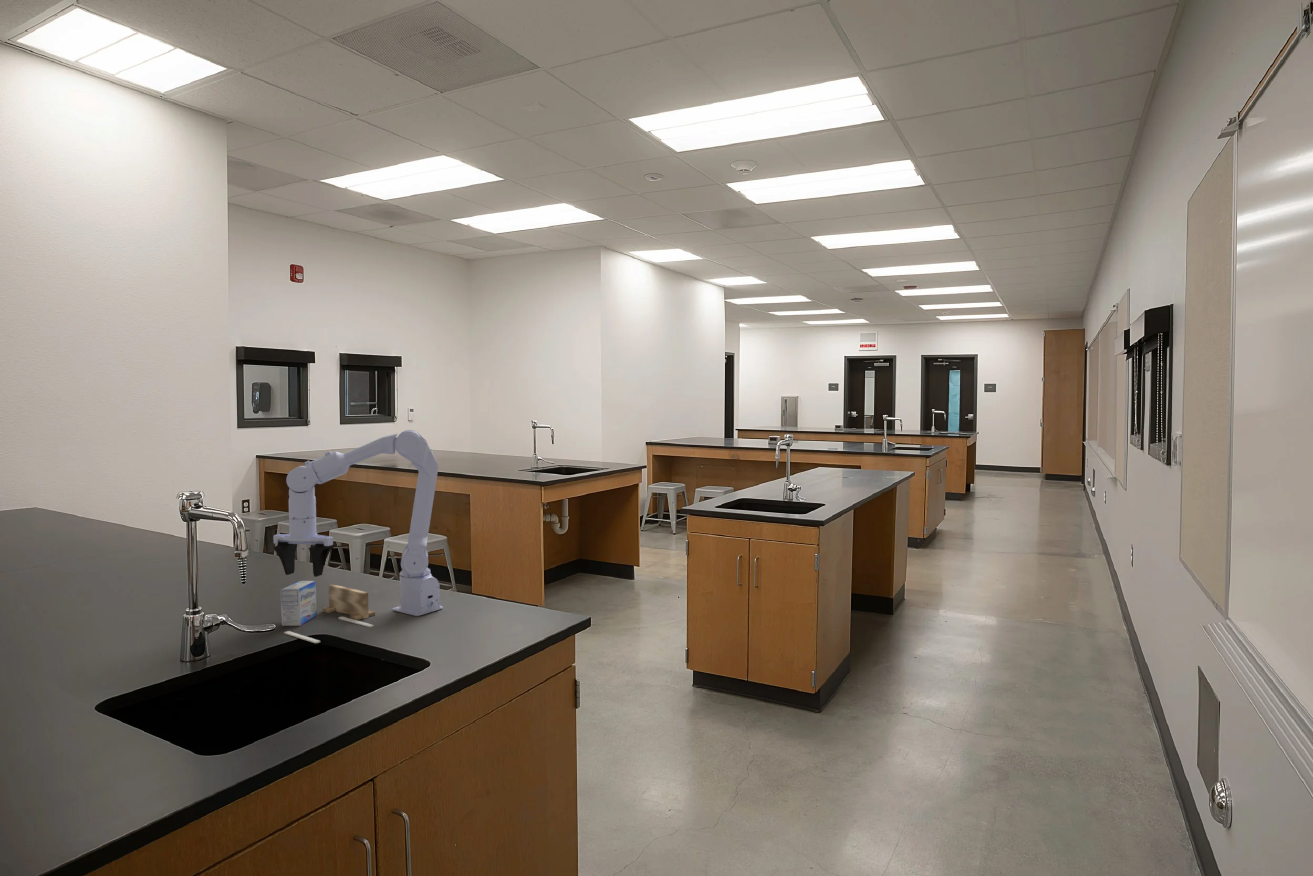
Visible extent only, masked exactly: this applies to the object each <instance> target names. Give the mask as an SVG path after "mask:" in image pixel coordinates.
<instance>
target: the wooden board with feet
mask: <svg viewBox="0 0 1313 876" xmlns="http://www.w3.org/2000/svg"><path fill="white" fill-rule="evenodd" d="M328 605H329V606H326V607H323V608H322V612H323V613H328V614H330V613H333V612H334V613H335V612H338V613H342V614H344V615H345V614H346V615H349V618H350V619H353V620H357V621H360V620H363V619H368V618H369V617H373V616H376V613H375V611H373V610H369V592H367V591H363V590H360V589H355V588H351V587H348V586H341V585H338V584H329V585H328Z"/></svg>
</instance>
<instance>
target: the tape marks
mask: <svg viewBox="0 0 1313 876" xmlns="http://www.w3.org/2000/svg"><path fill="white" fill-rule="evenodd" d="M338 620H341V621H345V622H349V623H352V624H355V625H360V626H363V627H366V628H373V627H374V624H371V623H368V622H364V621H360V620H353V619H350V617H346V616H339V617H338ZM283 633H284V634H285V635H288V636H290V637H294V638H298V639H300V640H303V641H307V642H310V643H313V644H319V643H321V640H319V639H316V638H313V637H309V636H306V635H302V634H300V633H297V632H293V631H290V630H287V631H284V632H283Z"/></svg>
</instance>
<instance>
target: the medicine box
mask: <svg viewBox="0 0 1313 876" xmlns="http://www.w3.org/2000/svg"><path fill="white" fill-rule="evenodd" d="M316 585H317V583H316V581H315V580H299V581H297V582H294V583H292V584H290V585H288V586H286V587H284V588H281V589H280V608H281V609H280V614H281V615H280V616H281V626H282V627H301V626H303V625H305V624H307V623H308V622H309V621H310V620H312V619H315V618H316V617H317V610H318V609H317V586H316Z"/></svg>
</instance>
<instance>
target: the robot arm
mask: <svg viewBox="0 0 1313 876" xmlns="http://www.w3.org/2000/svg"><path fill="white" fill-rule="evenodd" d="M396 452H397V454H398V455H400V456H401V457H403V458H404V459H405V460H408V461H409V462H410V463H411V464H412V465H413V466H414V467H415V468H416V470H417V471H418V475H417V480H416V487H415V494H414V501H413V506H412V514H411V519H410V520H411V521H410V527H409V534H408V538H407V544H406V546H405V547H404V549H403V550H402V553H401V559H400V567H401V571H400V572H399V606H397V607H396V606H395V607H392V611H395V612H397V613H403V614H406V615H409V616H410V615H411V616H415V617H419V616H422V615H426V614H429V613H432V612H435V611H439V610H442V609H443V608H444V607H443V606H442V605H441V590H440V589H441V588H440V585H441V584H440V582H439V580H438V579H437V578H436V577H434V576H433V575H432V573H431V568H429V567H428V566H429V552H428V549H427V546H428V539H429V538H428V537H429V531H430V527H431V525H430V524H431V518H432V511H433V504H434V499H435V498H434V497H435V494H436V493H435V492H436V487H437V486H436V485H437V479H438V473H439V463H438V461H437V458H436V457H435V455H434V453H433V451H432V448H431V447H430V446H429V443H428V441H427V440H426V439H425V438H424V437H423V436H422V435H421V434H420V433H419V432H417V431H415V430H412V429H406V430H404V431H402V432H401V433H399V432H396V433H393V434H389V435H385V436H382V437H380V438H377V439H375V440H372V441H371V442H370V441H369V443H366V444H364V445H361V446H359V447H357V448H355V449H353V450H350V451H348V452H346V453H342V452H339V451H333V452H332V451H331V450H329V451H327V452H325V453H324V455H323V456H321V457H319V458H317V459H313V460H312V461H310V460H307V461H304V465H300V466H296V467H295V468H293V469H291V470H290V471H289V472H288V474H287V476H286V480H285V482H286V485H287V487H288V488H289V489H288V496H289V498H288V529H289V533H278V534H274V535H273V537H272V538H273V544H276V545H274V546H273V550H274V551H275V553H276V554H277V556H278V557H279V559H280V562H281V564H282V566H283V569H284V574H285V576H289V575H291V574H295V570H296V568H295V563H296V562H295V561H296V559H295V558H296V551H297V548H298V545H310V547H308V550H309V553H310V557H311V561H312V574H313V577H315V578H318V577H320V576H323V572H324V567H325V564H326V561H327V559H328V556H329V554H330V552H331V550H332V549H333V546H334V536H329V535H324V534H323V535H322V534H318V533H317V506H316V505H317V499H316V496H315V495H316V494H315V493H316V489H315V486H316V484H318V485H322V484H325V483H327V482H329V481H331V480H334V479H336V478H339V477H340V476H341V477H342V476H343V475H346V474H347V473H348V471H349V468H350V467H351V466H352V465H354V464H358V463H359V462H363V461H365V460H369V459H371V458H372V457H376V456H379V455H380V454H385V455H386V454H387V455H395V453H396Z"/></svg>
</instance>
